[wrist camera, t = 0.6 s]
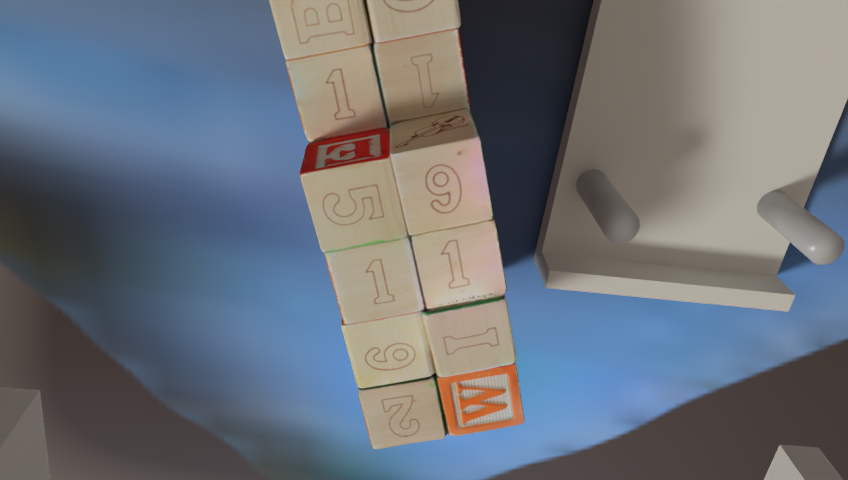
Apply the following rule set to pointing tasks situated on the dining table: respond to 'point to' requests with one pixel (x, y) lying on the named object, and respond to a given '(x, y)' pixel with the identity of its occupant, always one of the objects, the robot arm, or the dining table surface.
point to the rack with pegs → (696, 149)
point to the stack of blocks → (403, 213)
